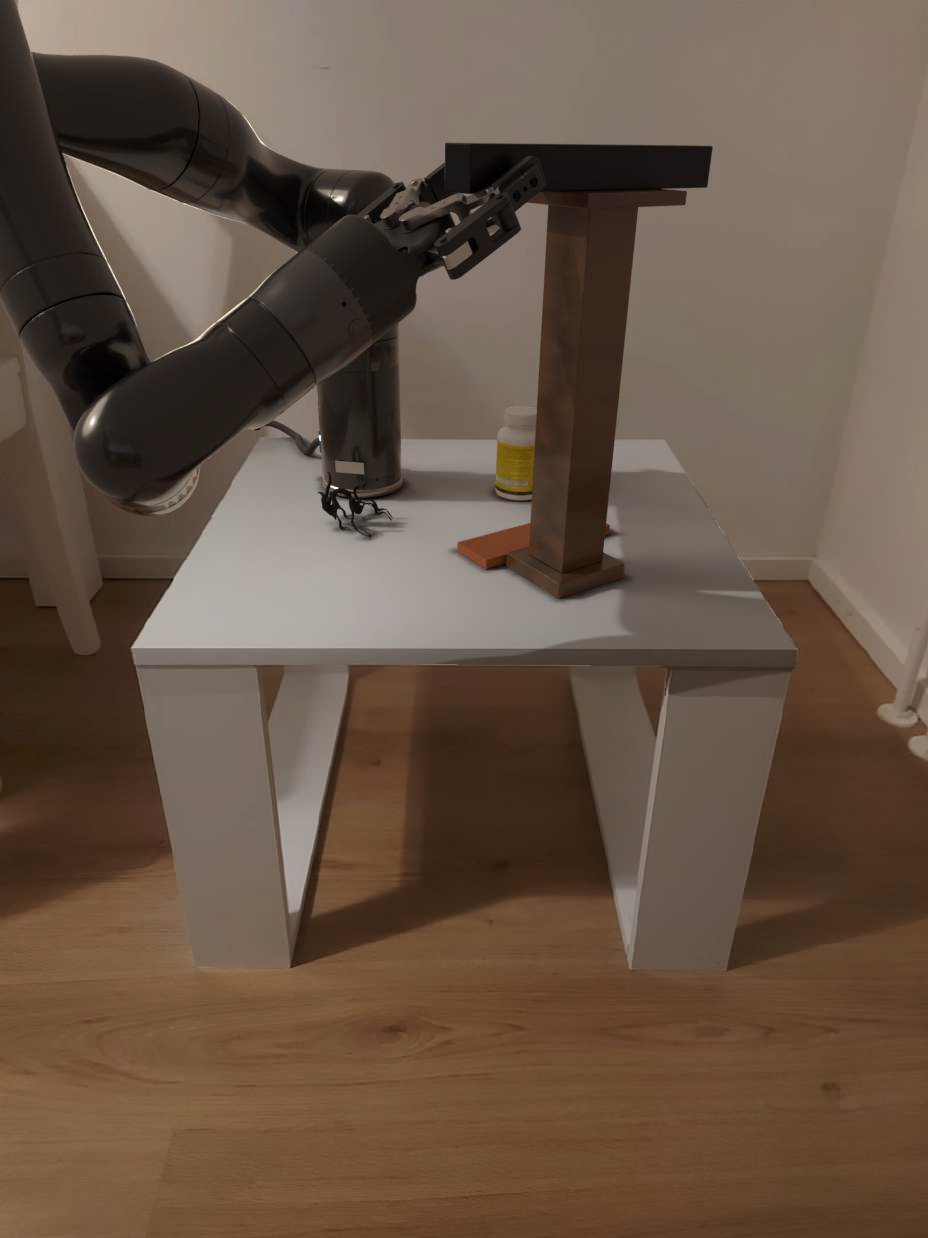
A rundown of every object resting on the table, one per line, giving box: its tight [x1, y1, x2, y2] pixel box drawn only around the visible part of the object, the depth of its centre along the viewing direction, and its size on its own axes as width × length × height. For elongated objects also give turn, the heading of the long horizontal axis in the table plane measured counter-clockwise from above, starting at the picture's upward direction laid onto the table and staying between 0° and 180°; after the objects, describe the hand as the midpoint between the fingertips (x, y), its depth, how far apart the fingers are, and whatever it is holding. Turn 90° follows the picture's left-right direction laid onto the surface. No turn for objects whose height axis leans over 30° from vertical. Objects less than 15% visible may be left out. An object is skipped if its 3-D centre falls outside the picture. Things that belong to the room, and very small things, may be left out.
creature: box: [317, 472, 393, 537], centre depth 92 cm, size 8×5×8 cm
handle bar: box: [444, 142, 714, 195], centre depth 65 cm, size 3×24×3 cm
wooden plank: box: [456, 522, 611, 570], centre depth 89 cm, size 5×16×1 cm, turn 124°
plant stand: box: [505, 189, 688, 599], centre depth 75 cm, size 10×10×33 cm
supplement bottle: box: [494, 405, 537, 501], centre depth 99 cm, size 5×5×10 cm
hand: (502, 166), depth 62 cm, fingers open, 8 cm apart
